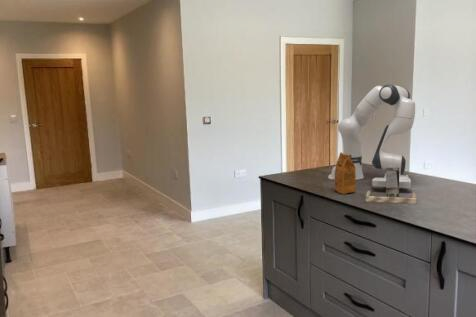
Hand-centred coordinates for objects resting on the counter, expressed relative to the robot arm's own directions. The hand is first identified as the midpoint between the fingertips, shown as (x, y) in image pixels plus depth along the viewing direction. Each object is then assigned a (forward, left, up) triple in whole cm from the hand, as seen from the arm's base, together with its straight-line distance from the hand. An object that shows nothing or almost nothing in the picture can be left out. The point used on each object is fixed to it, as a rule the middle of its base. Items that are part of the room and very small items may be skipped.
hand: (390, 185), depth 226 cm
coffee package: (-25, +3, -5) cm, 25 cm away
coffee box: (+1, -9, -5) cm, 11 cm away
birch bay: (0, -9, -5) cm, 11 cm away
